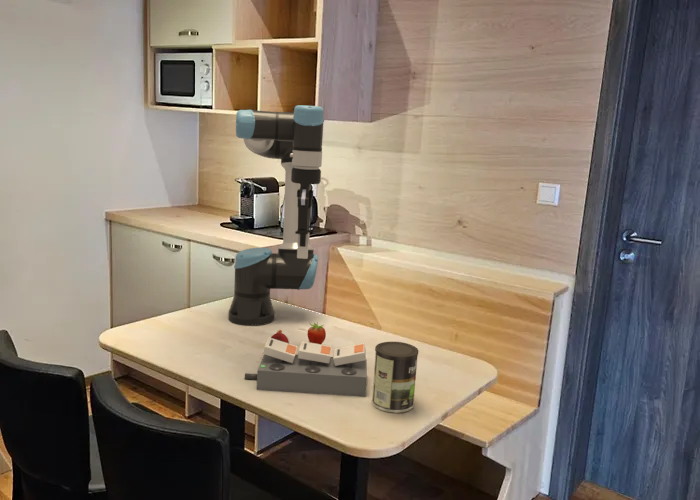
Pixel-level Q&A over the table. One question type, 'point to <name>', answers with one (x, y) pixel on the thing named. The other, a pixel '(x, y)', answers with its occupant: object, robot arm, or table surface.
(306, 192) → the robot arm
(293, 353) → the panel
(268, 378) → the power strip
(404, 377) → the coffee can
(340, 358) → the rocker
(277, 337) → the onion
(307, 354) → the rocker
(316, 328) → the fruit
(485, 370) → the table surface
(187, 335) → the table surface
